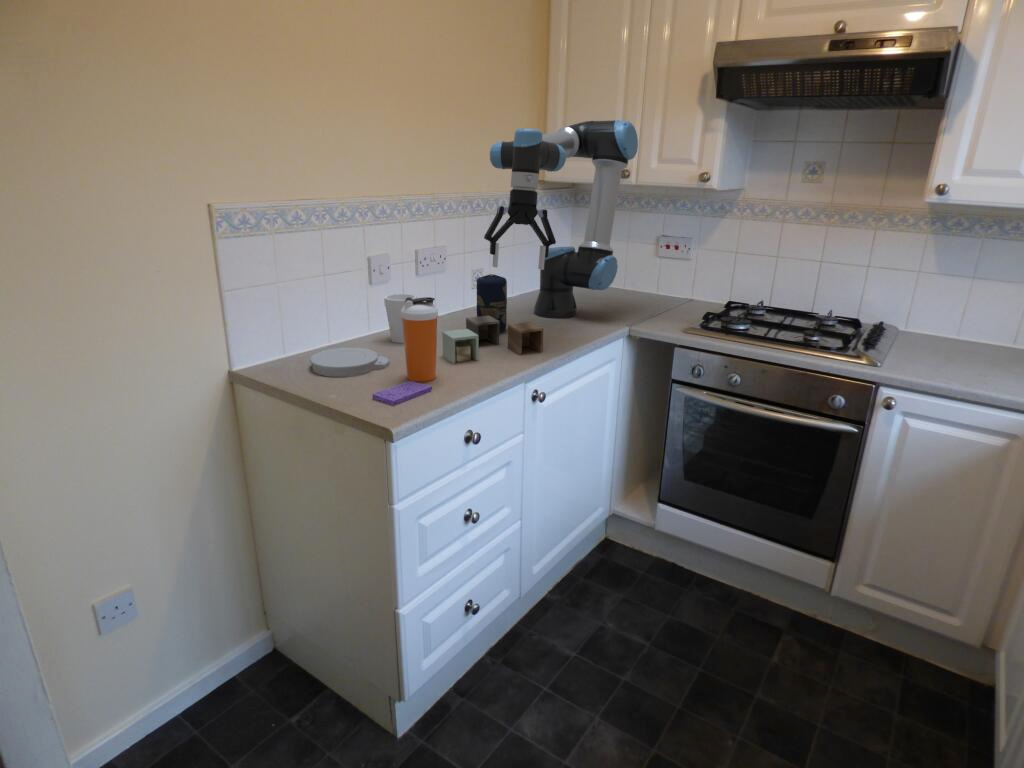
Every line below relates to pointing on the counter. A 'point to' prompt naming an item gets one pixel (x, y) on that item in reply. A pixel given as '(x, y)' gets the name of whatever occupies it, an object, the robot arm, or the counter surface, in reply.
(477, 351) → the cover green
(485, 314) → the canister
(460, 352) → the maple cube
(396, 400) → the sponges
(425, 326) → the shaker bottle
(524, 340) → the cover walnut
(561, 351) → the counter surface
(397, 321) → the foam cup
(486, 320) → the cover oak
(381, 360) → the lid
